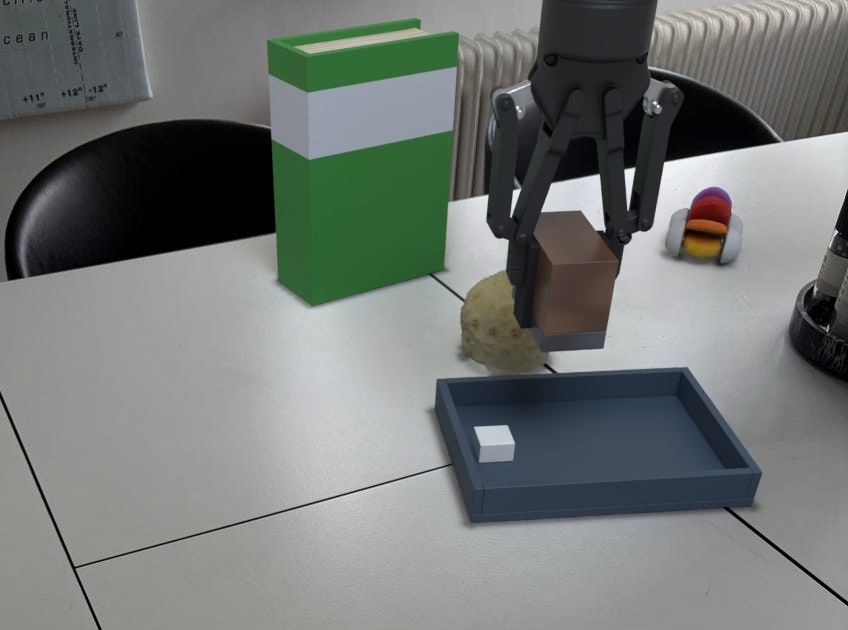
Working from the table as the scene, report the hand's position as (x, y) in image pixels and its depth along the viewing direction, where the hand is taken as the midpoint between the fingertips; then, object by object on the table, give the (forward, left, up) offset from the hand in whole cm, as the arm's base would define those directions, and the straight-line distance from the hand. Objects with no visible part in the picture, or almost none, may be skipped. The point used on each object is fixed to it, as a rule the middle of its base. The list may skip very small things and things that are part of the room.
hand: (556, 318), depth 84 cm
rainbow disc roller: (-30, -40, -12) cm, 51 cm away
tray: (-4, +2, -12) cm, 13 cm away
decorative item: (-1, -17, -12) cm, 21 cm away
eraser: (0, 0, 0) cm, 0 cm away
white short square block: (+5, +2, -11) cm, 12 cm away
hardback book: (+11, -37, -12) cm, 41 cm away
